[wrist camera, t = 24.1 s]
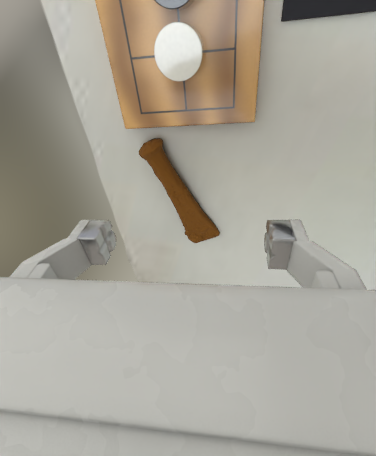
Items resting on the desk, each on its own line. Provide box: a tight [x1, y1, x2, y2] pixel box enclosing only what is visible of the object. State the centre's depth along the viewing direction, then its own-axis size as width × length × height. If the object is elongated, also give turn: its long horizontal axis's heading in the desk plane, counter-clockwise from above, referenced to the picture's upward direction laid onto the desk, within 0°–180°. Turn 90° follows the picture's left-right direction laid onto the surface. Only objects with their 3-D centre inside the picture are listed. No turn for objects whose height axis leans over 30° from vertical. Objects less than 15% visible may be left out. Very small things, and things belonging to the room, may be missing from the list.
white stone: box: [154, 22, 204, 81], centre depth 24 cm, size 5×5×3 cm
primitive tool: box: [139, 138, 220, 243], centre depth 37 cm, size 19×6×4 cm, turn 28°
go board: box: [95, 0, 264, 129], centre depth 25 cm, size 16×20×2 cm
